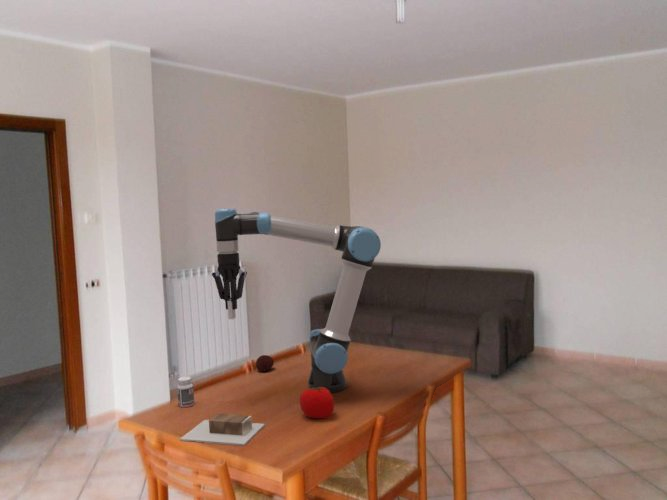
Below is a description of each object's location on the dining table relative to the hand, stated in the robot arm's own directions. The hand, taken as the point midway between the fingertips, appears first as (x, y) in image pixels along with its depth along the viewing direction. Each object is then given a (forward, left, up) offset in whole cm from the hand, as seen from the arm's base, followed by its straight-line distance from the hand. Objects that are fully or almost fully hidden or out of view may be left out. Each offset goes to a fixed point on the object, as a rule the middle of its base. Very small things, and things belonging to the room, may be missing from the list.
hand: (232, 318), depth 209 cm
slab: (-2, +22, -30) cm, 37 cm away
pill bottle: (+20, +1, -33) cm, 38 cm away
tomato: (-32, +4, -33) cm, 46 cm away
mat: (-6, +23, -32) cm, 40 cm away
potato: (+8, -44, -33) cm, 55 cm away
